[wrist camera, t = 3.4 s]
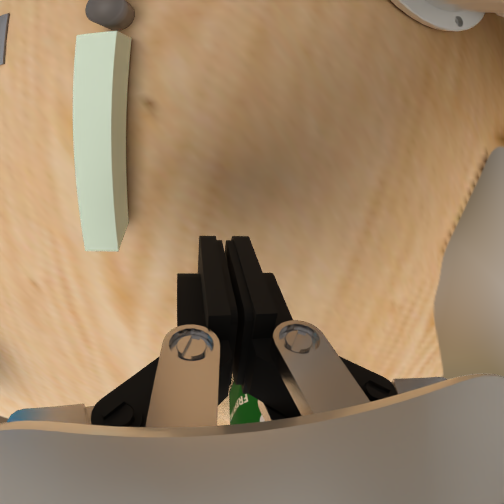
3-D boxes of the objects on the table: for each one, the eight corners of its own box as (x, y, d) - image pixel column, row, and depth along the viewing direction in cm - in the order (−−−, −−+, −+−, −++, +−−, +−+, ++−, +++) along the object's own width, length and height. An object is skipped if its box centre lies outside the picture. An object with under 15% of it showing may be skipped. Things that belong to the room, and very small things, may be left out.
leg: (97, 40, 13) (76, 35, 10) (131, 38, 13) (116, 30, 10) (100, 222, 19) (85, 250, 16) (128, 222, 19) (118, 251, 16)
